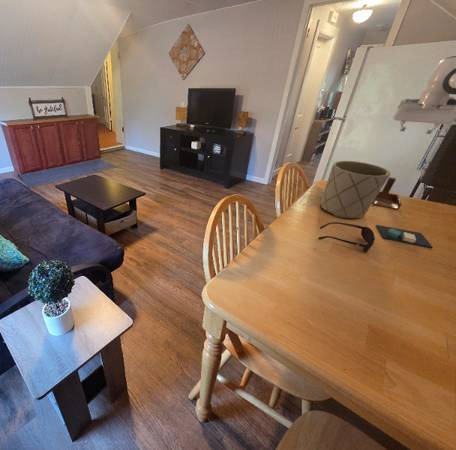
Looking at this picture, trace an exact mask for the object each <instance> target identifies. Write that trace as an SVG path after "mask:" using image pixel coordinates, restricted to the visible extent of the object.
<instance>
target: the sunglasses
mask: <svg viewBox="0 0 456 450" xmlns="http://www.w3.org/2000/svg"><path fill="white" fill-rule="evenodd" d="M334 224H335V225H341V226H342V225H343V226H347V227H352V228H356V229H360V231H361V232H360V235H361V238H362V239H363V240H364V242H365V244H364V243H360V242H355V241H351V240H347V239H343V238H339V237H335V236H331V235H324V236H319V237H318V240H324V239H333V240H336V241H340V242H343V243H346V244H350V245H353V246H357V247H359V248H360V247H361V248H363V249H362V251H363V253H368V252H369V251H370V249H371V248H372V247H373V245H374V242H375V240H376V237H375V233H374V231H373V229H371V228H370V227H368V226H363V225H359V224H353V223H346V222H338V221H332V222H327V223H326V224H323V225H321V226H320V227H319V230H323V229H324V228H326V227H327V226H329V225H334Z"/></svg>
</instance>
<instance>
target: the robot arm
mask: <svg viewBox="0 0 456 450" xmlns="http://www.w3.org/2000/svg"><path fill="white" fill-rule="evenodd" d="M450 95H456V55H454V56H449V57H445V58H443V59H442V60H440V62H439V63H438V64H437V65H436V67H435V68H434V69H433V71H432V73H431V74H430V77H429V79H428V80H427V85H426V86H425V87H424V89H423V91H422V92H421V94H420V96H419V98H405V99H402V100H401V101H400V102H399V103H398V105H397V110H396V112H395V114H394V115H393V117H392V119H393V120H394V121H397V122H400V128H399V132H403V133H404V132H405V131H406V128H407V127H406V126H404V124H406V122H411V123H412V122H413V123H425V124H433V127H431V128H429V129H427V130H426V131H425V134H427V135H431V134H432V133H433V131H434V130H436V129H437V128H439V127H440V125H451V124H452V123H454V122H455V120H456V98H455V97H453V96H450Z"/></svg>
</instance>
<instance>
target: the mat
mask: <svg viewBox="0 0 456 450" xmlns="http://www.w3.org/2000/svg"><path fill="white" fill-rule="evenodd" d="M376 228H377V230H378V232H379V234H380V236H381V237H382V239H383V240H387V241H388V240H389V241H393V242H398V243H403V244H408V245H412V246H417V247H418V246H419V247H423V248H428V249H433V246H432V244H431V243H430V241H428V239H427V237H425V236H424V234H423V233H422V232H418V231H413V230H409V229H403V228H397V227H391V226H385V225H380V224H376ZM391 229H395V230H398V231H400V232H402V233H401V234H400V235H399V236H398V237H397V238H393V237H391V236H388V235H387V233H388V232H389V231H390V230H391ZM404 232H405V233H409V234H413V235H415V238H416V241H415V242H414V243H412V242H408V241H404V240H403V238H402V234H403V233H404Z"/></svg>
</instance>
